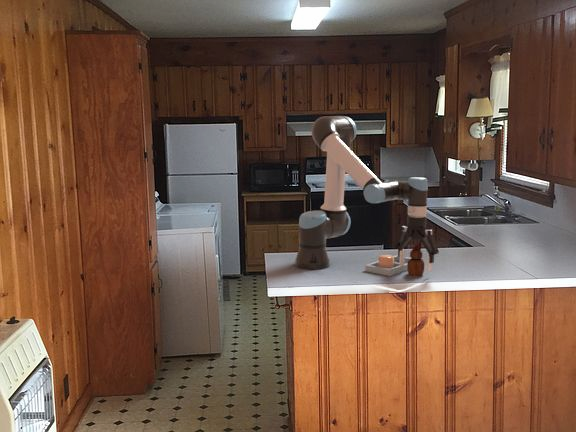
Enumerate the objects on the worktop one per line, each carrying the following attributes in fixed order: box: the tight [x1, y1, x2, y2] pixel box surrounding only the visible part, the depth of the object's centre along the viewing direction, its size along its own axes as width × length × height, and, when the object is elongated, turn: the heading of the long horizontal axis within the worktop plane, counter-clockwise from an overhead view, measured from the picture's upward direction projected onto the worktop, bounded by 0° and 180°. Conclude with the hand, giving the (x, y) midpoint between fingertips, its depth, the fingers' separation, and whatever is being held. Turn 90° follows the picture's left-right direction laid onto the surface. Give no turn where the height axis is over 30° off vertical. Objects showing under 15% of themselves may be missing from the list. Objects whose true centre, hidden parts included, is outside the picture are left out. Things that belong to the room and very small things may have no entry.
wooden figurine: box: [407, 240, 425, 277], centre depth 262 cm, size 7×6×15 cm
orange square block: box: [378, 254, 395, 269], centre depth 268 cm, size 6×6×6 cm
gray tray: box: [364, 254, 411, 277], centre depth 273 cm, size 12×24×4 cm, turn 138°
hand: (415, 268), depth 262 cm, fingers open, 12 cm apart
